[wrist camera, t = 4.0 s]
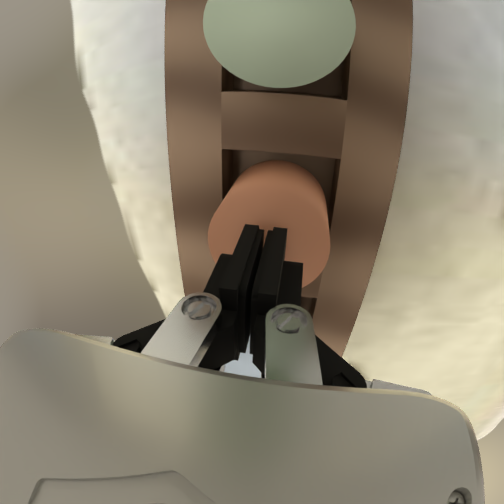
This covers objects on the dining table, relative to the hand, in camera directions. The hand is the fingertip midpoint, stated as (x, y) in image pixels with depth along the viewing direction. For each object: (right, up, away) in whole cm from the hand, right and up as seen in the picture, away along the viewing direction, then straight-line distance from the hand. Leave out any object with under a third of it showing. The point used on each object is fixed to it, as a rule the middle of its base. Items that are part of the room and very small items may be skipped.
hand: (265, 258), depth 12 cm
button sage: (+1, +10, -1) cm, 10 cm away
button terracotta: (+1, +3, +4) cm, 5 cm away
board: (+1, +4, +6) cm, 8 cm away
